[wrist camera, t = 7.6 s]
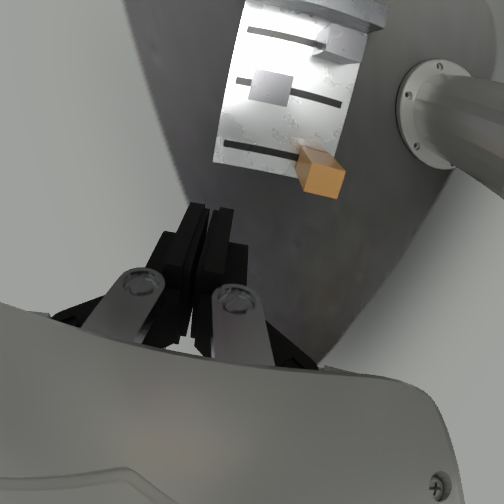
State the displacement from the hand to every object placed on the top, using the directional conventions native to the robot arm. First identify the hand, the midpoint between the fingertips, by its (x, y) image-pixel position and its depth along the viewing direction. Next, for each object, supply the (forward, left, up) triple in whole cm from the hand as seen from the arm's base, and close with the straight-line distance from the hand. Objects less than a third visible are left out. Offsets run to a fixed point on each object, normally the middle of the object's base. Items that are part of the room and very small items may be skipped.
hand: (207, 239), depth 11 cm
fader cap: (-7, 0, -17) cm, 18 cm away
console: (-4, -7, -19) cm, 20 cm away
